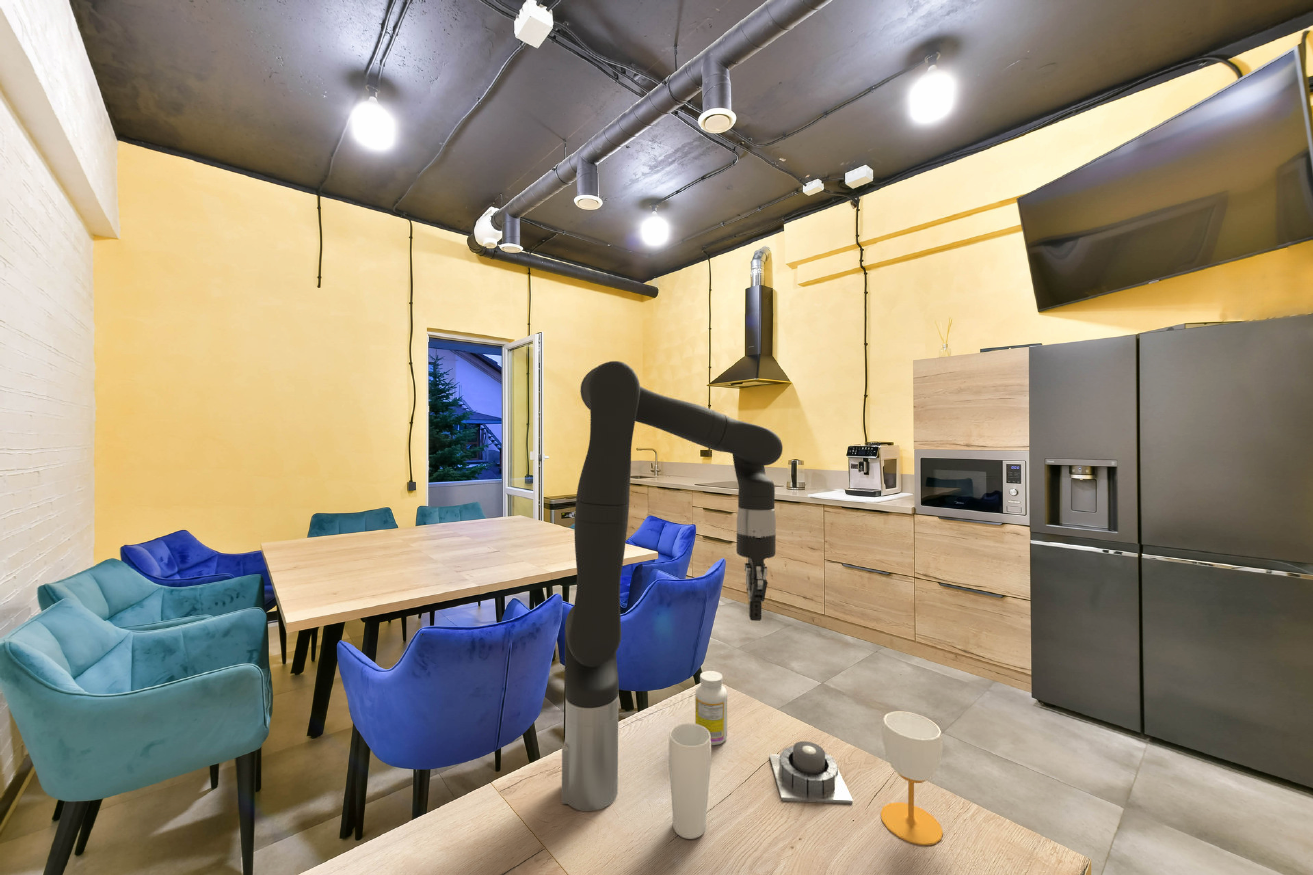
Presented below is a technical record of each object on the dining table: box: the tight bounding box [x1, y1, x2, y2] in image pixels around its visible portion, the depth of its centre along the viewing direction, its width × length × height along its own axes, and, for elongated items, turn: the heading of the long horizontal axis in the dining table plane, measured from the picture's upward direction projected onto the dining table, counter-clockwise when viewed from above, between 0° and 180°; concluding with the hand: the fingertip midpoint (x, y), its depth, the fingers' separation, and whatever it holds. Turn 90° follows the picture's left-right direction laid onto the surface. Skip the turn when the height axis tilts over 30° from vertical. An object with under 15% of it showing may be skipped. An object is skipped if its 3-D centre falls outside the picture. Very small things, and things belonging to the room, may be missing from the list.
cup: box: [879, 710, 944, 846], centre depth 82 cm, size 9×9×16 cm
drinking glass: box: [668, 722, 712, 840], centre depth 81 cm, size 7×7×15 cm
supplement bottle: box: [694, 670, 728, 746], centre depth 106 cm, size 7×7×13 cm
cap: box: [792, 740, 826, 775], centre depth 93 cm, size 6×6×5 cm
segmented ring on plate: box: [768, 745, 853, 805], centre depth 93 cm, size 12×12×3 cm
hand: (755, 619), depth 99 cm, fingers closed
